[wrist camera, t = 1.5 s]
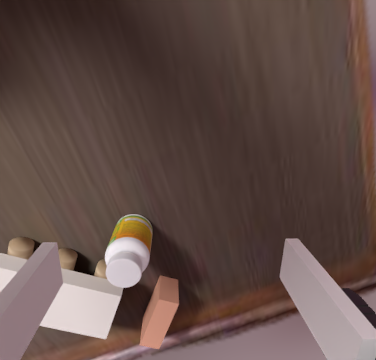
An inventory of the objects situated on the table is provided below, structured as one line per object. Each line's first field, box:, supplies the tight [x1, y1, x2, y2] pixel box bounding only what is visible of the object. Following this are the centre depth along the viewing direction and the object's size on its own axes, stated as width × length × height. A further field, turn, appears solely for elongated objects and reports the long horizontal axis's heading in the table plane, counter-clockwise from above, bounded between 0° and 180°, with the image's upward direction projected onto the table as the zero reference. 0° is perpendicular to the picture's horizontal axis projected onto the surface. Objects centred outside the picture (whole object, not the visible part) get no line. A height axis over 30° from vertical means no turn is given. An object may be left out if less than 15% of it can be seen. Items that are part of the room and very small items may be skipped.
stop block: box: [140, 275, 179, 349], centre depth 41 cm, size 3×9×5 cm, turn 160°
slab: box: [0, 253, 123, 339], centre depth 36 cm, size 18×8×2 cm, turn 70°
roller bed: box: [7, 237, 107, 279], centre depth 39 cm, size 15×10×3 cm, turn 70°
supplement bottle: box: [105, 214, 153, 288], centre depth 34 cm, size 5×5×10 cm
